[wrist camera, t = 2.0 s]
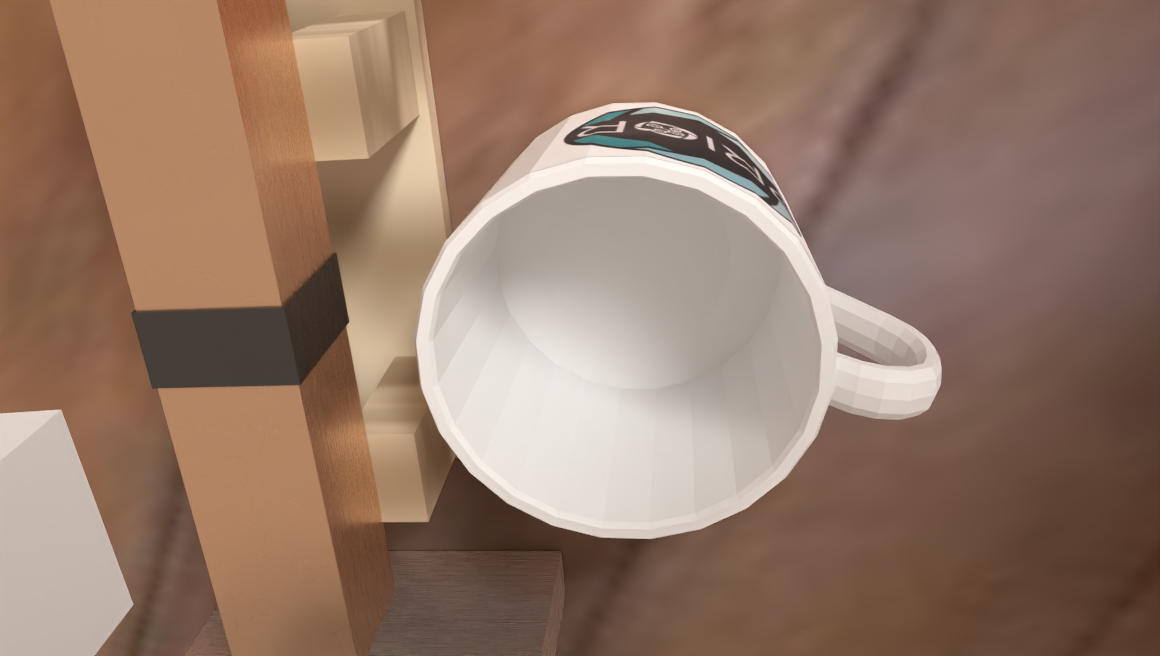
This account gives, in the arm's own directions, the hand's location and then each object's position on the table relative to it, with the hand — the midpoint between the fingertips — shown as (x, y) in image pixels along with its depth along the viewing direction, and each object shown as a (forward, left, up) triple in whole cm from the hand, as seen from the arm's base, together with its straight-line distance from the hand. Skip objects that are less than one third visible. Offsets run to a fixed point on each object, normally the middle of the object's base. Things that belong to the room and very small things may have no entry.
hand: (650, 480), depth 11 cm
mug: (+5, 0, -21) cm, 22 cm away
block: (+1, -11, -13) cm, 17 cm away
